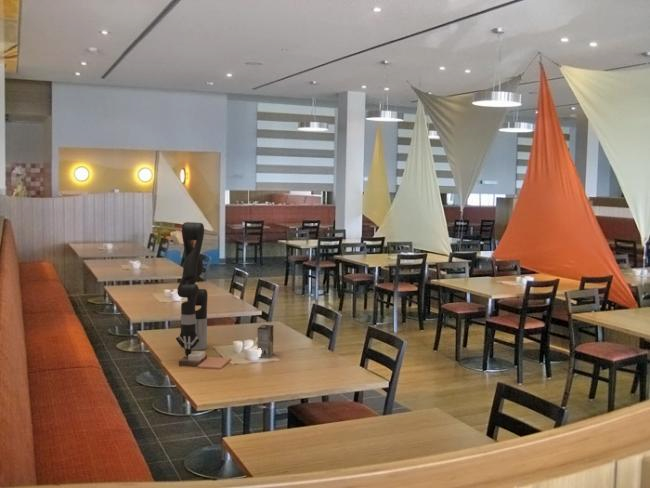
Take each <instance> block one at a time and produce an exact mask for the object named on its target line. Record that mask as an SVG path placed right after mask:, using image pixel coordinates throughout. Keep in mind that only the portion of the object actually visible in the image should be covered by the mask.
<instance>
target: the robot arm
mask: <svg viewBox="0 0 650 488" xmlns="http://www.w3.org/2000/svg"><path fill="white" fill-rule="evenodd" d="M204 225H205V224H203V222H195V221H194V222H193V221H192V222H191V221H185V222H183V224H182V226H181V234H182V236H181V237H182V241H183V249H184V262H183V270H182V276H181V280H180V281H179V284H178V287H177V295H178V296H179V297H180V298H186V299H187V300H186V301H184V302H182V303H181V305H180V308H181V309H180V312H181V313H180V314H181V315H180V334H179V336H177V337H176V338H175V340H176V341H177V342H178V344H179V345H180V346H179V347H181V348H184V349H185V350H184V354H185V356H188V355H189V354H191V353H192V351H203V350H207V349H208V291H207V289H206V288H199V286H198V285H197V284H196V282H197V281H198V279H200V277H201V275H202V274H203V272H204V263H203V262H204V261H203V257H202V256H201V250H202V246H203V242H204V237H205V226H204ZM192 241H195V245H193V243H192ZM199 306H200V308H199V309H196V307H199Z"/></svg>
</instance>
